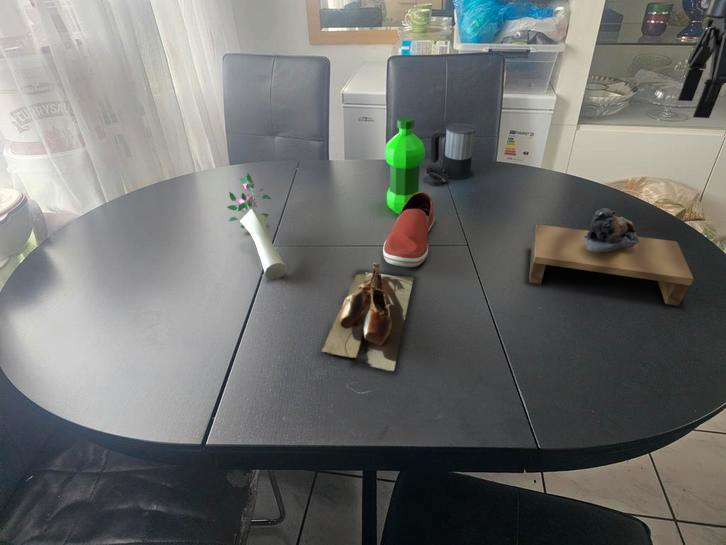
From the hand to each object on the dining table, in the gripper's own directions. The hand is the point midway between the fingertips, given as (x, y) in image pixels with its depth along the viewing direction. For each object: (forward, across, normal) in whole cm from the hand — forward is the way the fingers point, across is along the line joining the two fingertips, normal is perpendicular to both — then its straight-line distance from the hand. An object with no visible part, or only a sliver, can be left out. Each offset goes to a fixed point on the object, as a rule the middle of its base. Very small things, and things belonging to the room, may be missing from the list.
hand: (692, 108), depth 97 cm
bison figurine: (+22, -28, +14) cm, 38 cm away
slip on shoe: (+29, -26, +56) cm, 68 cm away
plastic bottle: (+29, -8, +62) cm, 69 cm away
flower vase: (+29, -35, +92) cm, 103 cm away
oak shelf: (+29, -28, +14) cm, 42 cm away
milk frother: (+29, +17, +54) cm, 64 cm away
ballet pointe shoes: (+29, -54, +57) cm, 84 cm away
